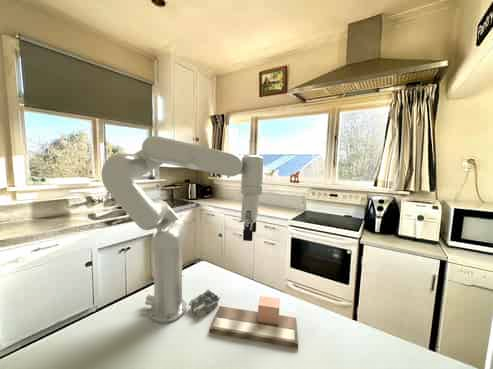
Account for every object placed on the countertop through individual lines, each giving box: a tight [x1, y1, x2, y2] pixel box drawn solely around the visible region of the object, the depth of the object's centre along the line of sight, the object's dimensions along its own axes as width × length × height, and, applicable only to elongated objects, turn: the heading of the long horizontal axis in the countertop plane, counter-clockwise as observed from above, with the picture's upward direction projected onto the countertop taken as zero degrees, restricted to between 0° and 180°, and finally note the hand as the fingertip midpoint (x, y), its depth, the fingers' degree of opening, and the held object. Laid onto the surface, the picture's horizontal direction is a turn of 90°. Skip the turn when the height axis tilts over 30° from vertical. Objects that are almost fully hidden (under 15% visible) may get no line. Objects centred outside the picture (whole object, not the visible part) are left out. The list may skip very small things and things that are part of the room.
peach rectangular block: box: [257, 295, 281, 325], centre depth 74 cm, size 7×5×6 cm
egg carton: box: [188, 289, 221, 318], centre depth 81 cm, size 11×8×4 cm
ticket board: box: [208, 305, 299, 349], centre depth 72 cm, size 28×11×2 cm, turn 80°
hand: (249, 235), depth 78 cm, fingers open, 9 cm apart
